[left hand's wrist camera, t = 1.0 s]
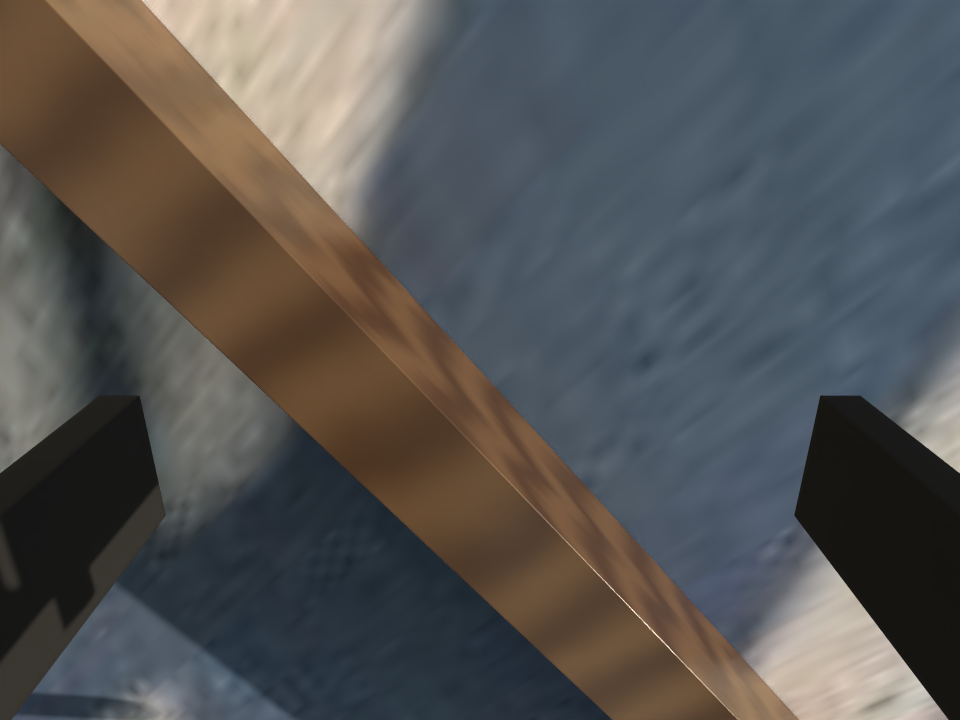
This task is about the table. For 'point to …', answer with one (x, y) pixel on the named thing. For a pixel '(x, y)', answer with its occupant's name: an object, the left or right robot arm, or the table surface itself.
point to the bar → (349, 352)
